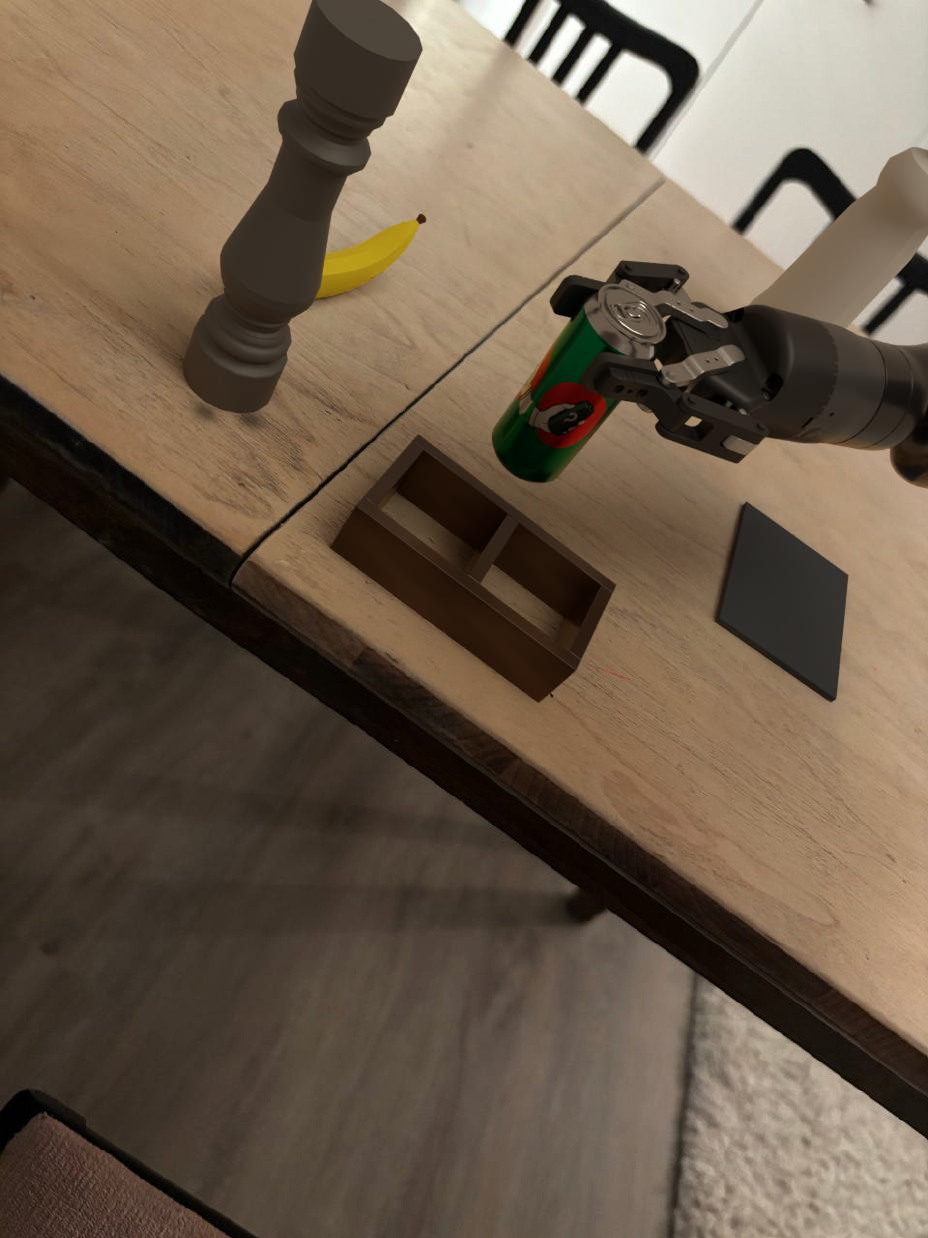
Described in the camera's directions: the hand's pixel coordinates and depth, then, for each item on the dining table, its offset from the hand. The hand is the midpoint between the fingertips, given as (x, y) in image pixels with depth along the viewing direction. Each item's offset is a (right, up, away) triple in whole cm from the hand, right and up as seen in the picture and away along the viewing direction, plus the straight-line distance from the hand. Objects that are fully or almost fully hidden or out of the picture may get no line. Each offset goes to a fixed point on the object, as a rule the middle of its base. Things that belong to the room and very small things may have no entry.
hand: (575, 331), depth 51 cm
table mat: (+22, -14, +31) cm, 40 cm away
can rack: (-6, -13, +14) cm, 20 cm away
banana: (-18, +10, +23) cm, 30 cm away
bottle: (+24, +11, +50) cm, 56 cm away
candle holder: (-22, +1, +14) cm, 26 cm away
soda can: (-2, -5, +9) cm, 11 cm away
